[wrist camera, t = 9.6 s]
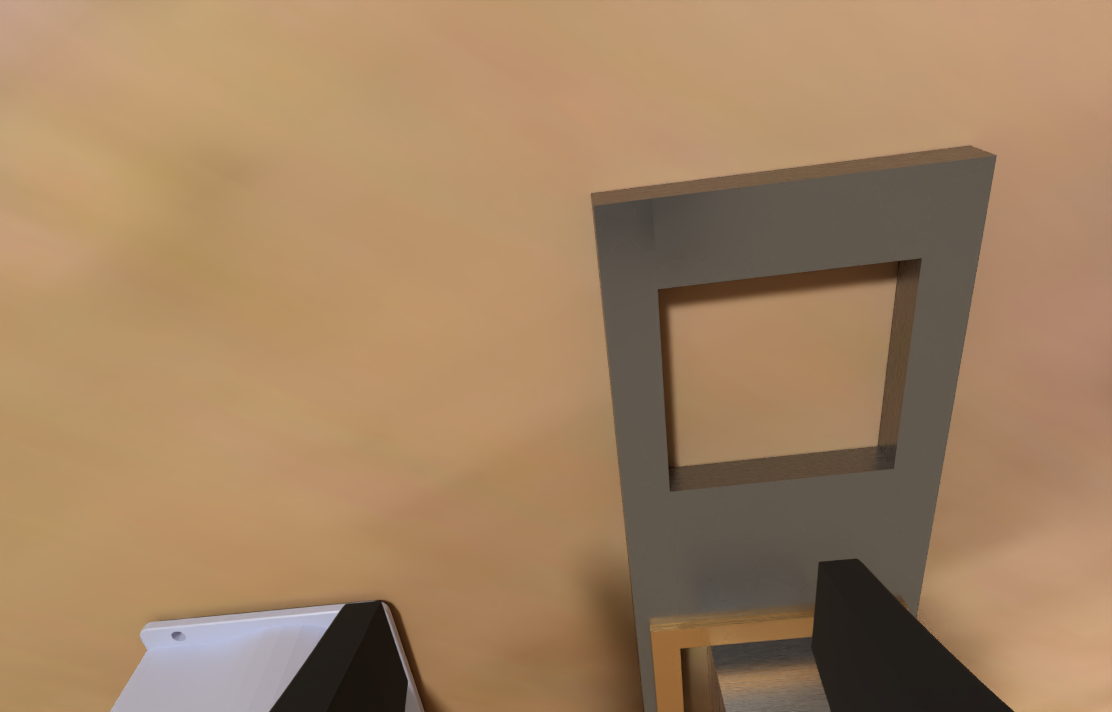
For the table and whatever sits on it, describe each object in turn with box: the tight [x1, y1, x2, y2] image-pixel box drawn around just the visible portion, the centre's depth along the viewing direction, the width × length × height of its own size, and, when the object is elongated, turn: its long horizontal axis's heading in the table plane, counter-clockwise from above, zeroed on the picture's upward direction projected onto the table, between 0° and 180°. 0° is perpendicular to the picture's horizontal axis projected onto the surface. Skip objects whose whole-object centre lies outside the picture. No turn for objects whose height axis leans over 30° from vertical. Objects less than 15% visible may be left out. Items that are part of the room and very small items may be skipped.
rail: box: [591, 146, 997, 712], centre depth 24 cm, size 10×26×2 cm, turn 7°
